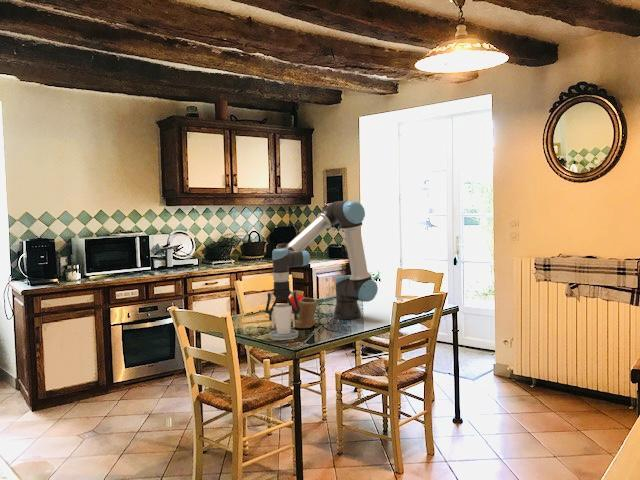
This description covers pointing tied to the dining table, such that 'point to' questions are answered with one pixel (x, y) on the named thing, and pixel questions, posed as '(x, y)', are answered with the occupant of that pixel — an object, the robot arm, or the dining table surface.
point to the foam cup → (283, 318)
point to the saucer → (283, 335)
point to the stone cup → (306, 313)
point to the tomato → (297, 299)
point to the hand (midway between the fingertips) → (283, 326)
